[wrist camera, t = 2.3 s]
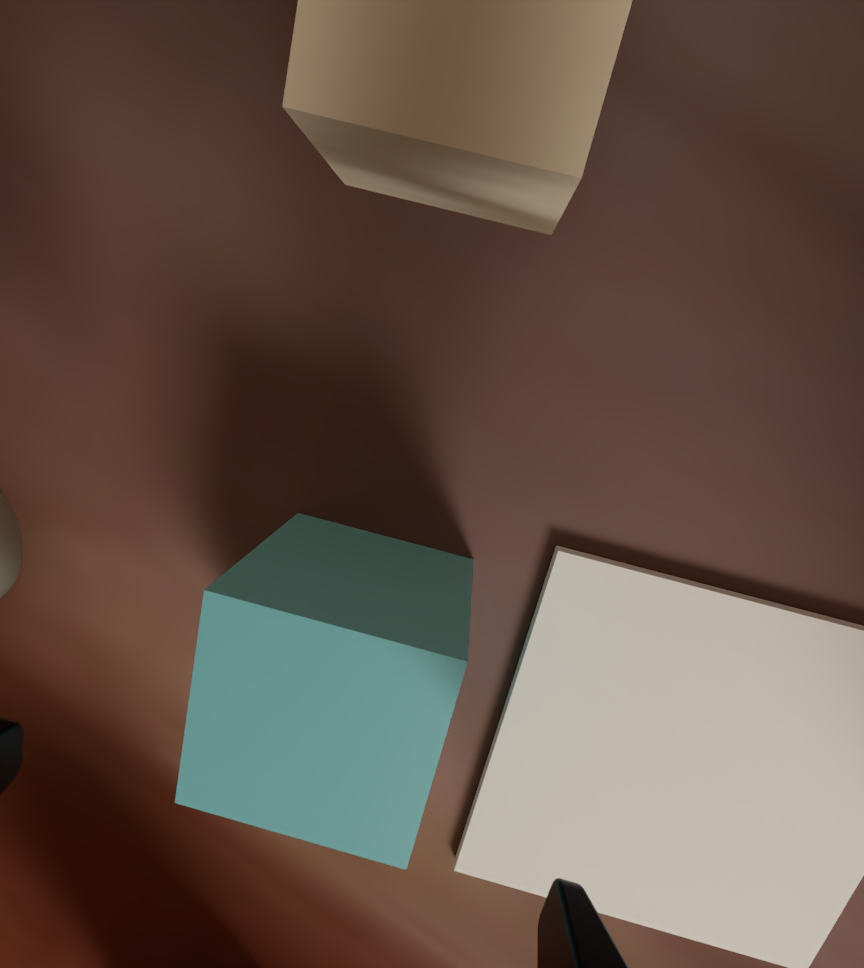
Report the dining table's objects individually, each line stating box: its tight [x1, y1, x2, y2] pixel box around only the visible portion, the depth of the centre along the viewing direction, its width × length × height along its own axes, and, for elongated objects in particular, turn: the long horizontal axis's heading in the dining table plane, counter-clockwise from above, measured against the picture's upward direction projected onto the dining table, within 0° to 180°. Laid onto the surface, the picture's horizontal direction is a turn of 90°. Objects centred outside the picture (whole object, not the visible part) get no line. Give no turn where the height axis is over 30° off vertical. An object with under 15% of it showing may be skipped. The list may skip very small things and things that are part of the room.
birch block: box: [282, 0, 632, 235], centre depth 10 cm, size 5×5×4 cm
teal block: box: [175, 513, 473, 870], centre depth 12 cm, size 5×5×5 cm
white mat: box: [454, 545, 864, 968], centre depth 15 cm, size 11×11×1 cm
